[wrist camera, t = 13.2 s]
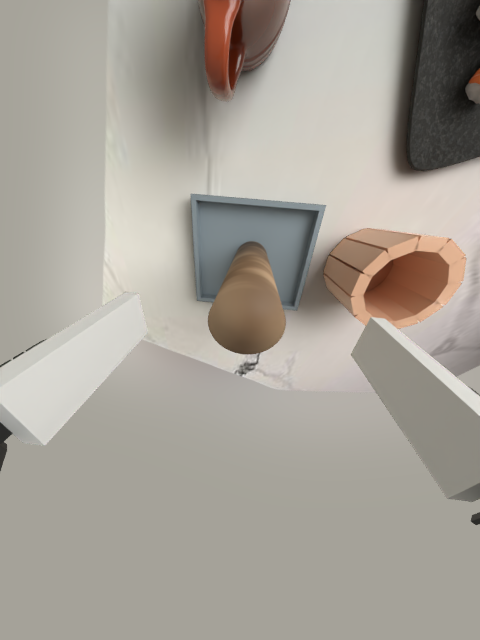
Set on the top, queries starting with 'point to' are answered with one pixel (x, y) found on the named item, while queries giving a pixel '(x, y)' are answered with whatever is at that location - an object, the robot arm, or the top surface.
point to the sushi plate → (446, 86)
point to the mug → (238, 38)
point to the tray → (254, 225)
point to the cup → (394, 275)
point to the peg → (248, 304)
